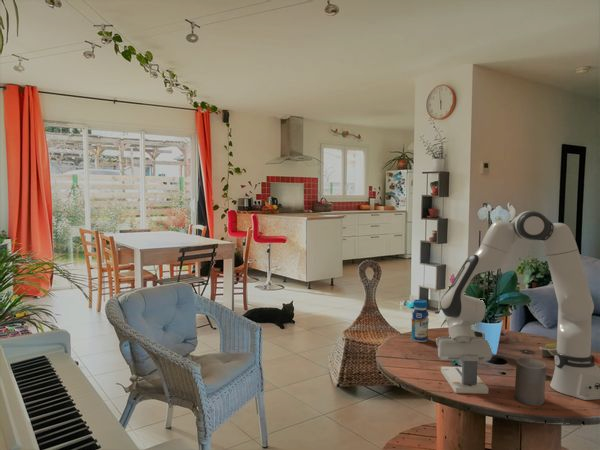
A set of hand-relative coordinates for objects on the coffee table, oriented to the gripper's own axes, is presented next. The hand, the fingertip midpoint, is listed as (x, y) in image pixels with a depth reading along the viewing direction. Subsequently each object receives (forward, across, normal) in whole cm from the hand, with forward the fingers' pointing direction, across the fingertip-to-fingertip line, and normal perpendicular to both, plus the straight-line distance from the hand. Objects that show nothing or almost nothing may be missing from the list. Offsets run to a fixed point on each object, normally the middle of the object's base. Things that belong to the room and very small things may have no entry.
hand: (468, 370), depth 176 cm
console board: (+1, 0, +9) cm, 9 cm away
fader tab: (+4, 0, +2) cm, 5 cm away
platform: (-20, +48, +31) cm, 61 cm away
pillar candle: (+12, +19, -2) cm, 22 cm away
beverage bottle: (-36, -6, +46) cm, 58 cm away
